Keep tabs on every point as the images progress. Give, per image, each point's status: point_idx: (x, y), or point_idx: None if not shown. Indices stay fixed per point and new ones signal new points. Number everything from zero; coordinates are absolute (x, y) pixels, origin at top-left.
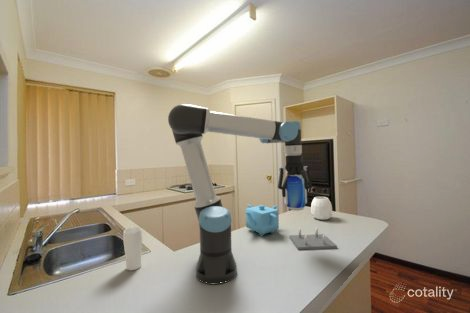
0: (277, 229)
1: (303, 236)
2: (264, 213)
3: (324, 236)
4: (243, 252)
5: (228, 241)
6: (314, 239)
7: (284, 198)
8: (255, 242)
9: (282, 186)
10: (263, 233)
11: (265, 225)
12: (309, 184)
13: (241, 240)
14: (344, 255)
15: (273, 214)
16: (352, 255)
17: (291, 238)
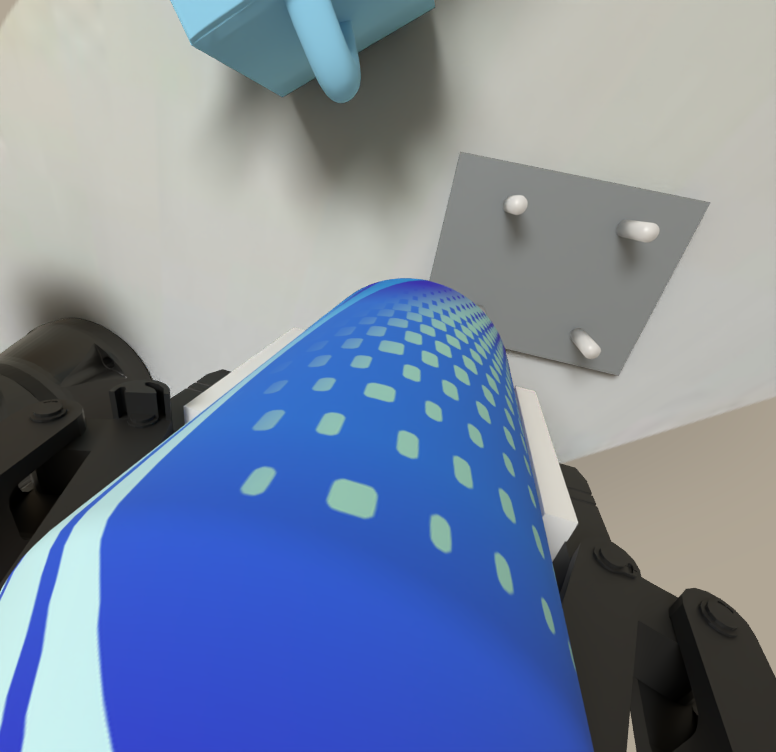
0: (420, 14)
1: (540, 201)
2: (216, 23)
3: (585, 356)
4: (175, 270)
5: (30, 482)
6: (571, 267)
7: (267, 348)
8: (239, 168)
9: (103, 453)
10: (288, 91)
11: (282, 64)
12: (631, 713)
13: (163, 111)
14: (579, 429)
15: (320, 36)
16: (612, 439)
17: (446, 209)
